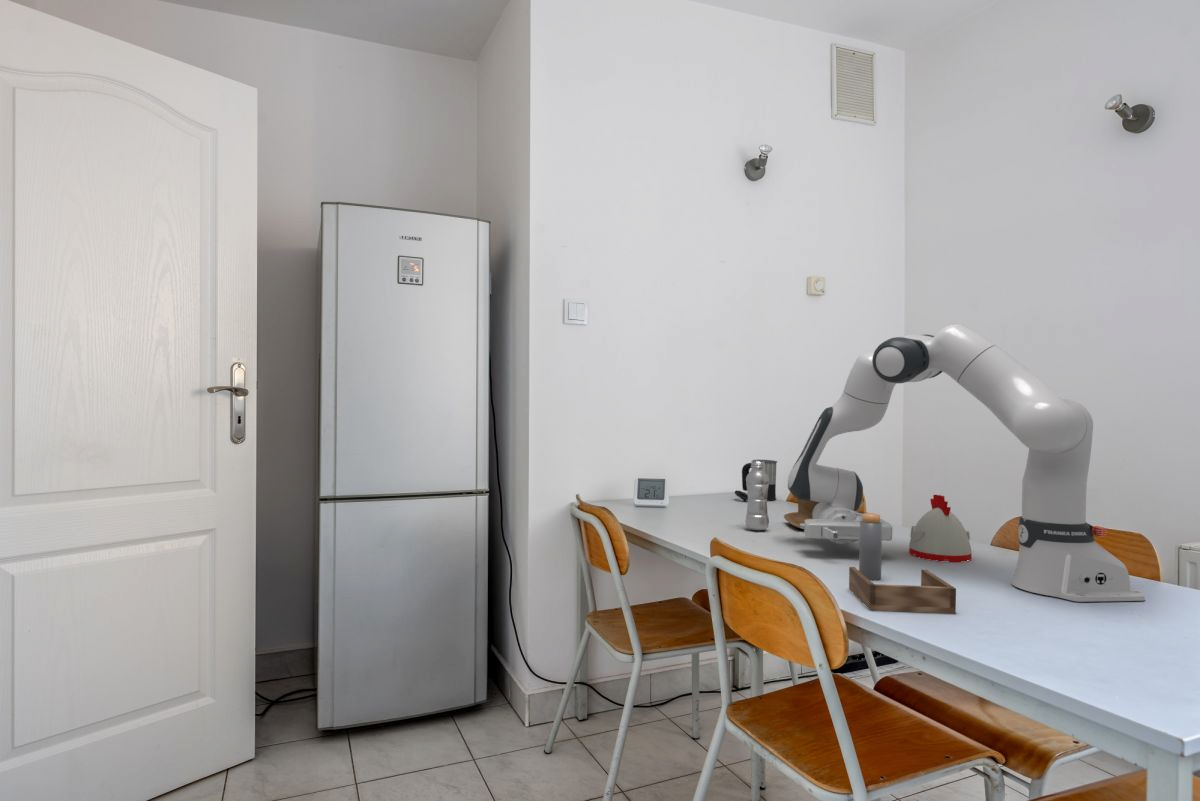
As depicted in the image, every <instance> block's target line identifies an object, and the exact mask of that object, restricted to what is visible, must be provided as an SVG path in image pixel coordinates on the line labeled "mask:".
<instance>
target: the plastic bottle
mask: <svg viewBox="0 0 1200 801" xmlns="http://www.w3.org/2000/svg"><path fill="white" fill-rule="evenodd" d="M750 463H751V467H752V468H751V470H749V473H748V475H747V477H746V485H747V491H746V492H747V493H746V494H747V495H748V500H747V505H746V506H747V507H746V515H745V519H744V520H745V522H744V523H745V526H746V528H747V529H749V530H752V531H756V532H759V531H766V530H767V529H768V528H769V525H770V524H769V523H770V519H769V514H768V501H767V492H768V486H769V478H768V476H767V474H766V472H765V471H764V468H765V466H764V464H765V462H764V461H752V460H751V462H750Z"/></svg>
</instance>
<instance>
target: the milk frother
mask: <svg viewBox="0 0 1200 801" xmlns="http://www.w3.org/2000/svg"><path fill="white" fill-rule="evenodd" d="M752 461H764V462H765V464H764V466H765V468H764V471H765V472H766V474H767V476H768V478H769V486H768V492H767V502H771V501H776V500H777V498H776V496H777V495H776V494H777V493H776V491H777V490H776V486H777V484H776V483H777V482H776V481H777V480H776V479H777V463H778V461H777V460H774V459H772V460H771V459H752V460H751V462H752ZM751 462H748V463H744V465H743V466H742V469H741V483H742V484H741V485H742V491H741V490H735V491H734V494H735V496H737V497H738V498H740V499H742V500H743V502H746V501H748V495H747V493H746V492H747V485H746V477H747V475H748V473H749V472H750V471H751V470H750V469H752V467H751ZM743 491H744V492H743ZM745 491H746V492H745Z"/></svg>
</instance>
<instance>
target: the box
mask: <svg viewBox="0 0 1200 801" xmlns="http://www.w3.org/2000/svg"><path fill="white" fill-rule="evenodd" d="M848 568H849V569H848V575H849V576H848V590H849V589H850V590H851V591H852V592H853V593H854V594H855V595H856V596H857V597H858V598H859V599H860V600H861V601H862V602H863V603H864V604H865V605H866V606H867V607H868V608H869V609H870V610H869V609H868V608H867V607H866V606H865V605H864V604H863V603H862V602H861V601H860V600H859V599H858V598H857V597H856V596H855V595H854V594H853V593H852V594H853V595H854V596H855V597H856V598H857V599H858V600H859V601H860V602H861V603H862V604H863V605H864V606H865V607H866V608H867V609H868V610H869V611H878V610H884V612H885V610H886V612H908V613H931V614H953V615H955V614H956V613H957V612H956V611H957V610H956V607H957V601H956V600H957V588H956V587H954V586H953V585H951V584H950V583H948V582H946V581H945V580H944V579H942V578H940V577H939V576H937V575H936V574H935V573H933V572H931V571H929V570H928V569H921V571H920V573H921V574H920V575H921V576H920V585H908V584H907V585H905V584H904V585H903V584H882V583H881V584H879V583H878V584H877V583H876V584H875V583H874V582H872V580H869V579H868V578H867V577H865V576H864V575H863V574H862V573H861V572H860V571H859V569H857V568H856V567H855V566H849V567H848ZM850 590H849V591H850ZM851 591H850V592H851Z"/></svg>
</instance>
